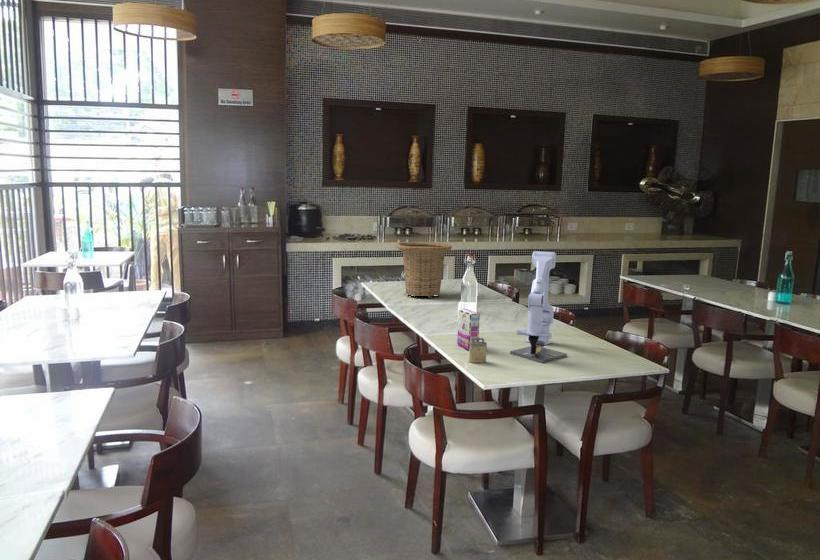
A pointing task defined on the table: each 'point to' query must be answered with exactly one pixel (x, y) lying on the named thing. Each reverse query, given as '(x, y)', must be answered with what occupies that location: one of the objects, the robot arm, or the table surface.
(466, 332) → the candy bar box
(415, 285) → the wicker basket
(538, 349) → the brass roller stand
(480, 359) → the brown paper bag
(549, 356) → the lever base
